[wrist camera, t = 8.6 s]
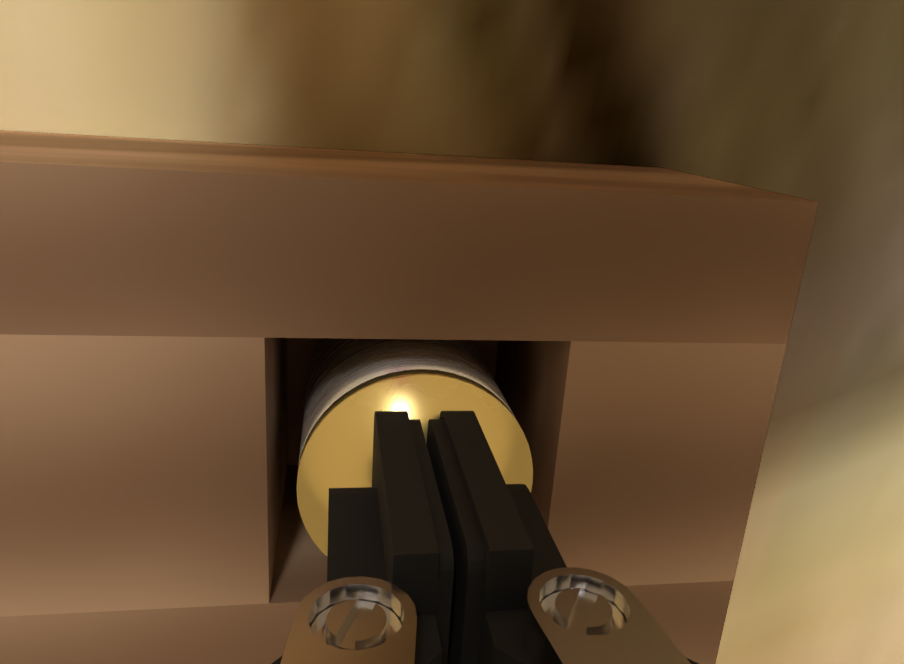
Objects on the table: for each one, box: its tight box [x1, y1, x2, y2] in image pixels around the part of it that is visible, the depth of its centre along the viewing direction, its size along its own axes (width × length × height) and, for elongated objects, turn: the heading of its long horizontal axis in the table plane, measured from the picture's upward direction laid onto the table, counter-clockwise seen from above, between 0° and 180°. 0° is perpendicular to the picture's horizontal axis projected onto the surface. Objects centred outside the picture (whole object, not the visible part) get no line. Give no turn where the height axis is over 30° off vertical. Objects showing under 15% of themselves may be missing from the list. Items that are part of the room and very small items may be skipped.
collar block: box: [0, 130, 819, 664], centre depth 14 cm, size 10×26×6 cm, turn 86°
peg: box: [297, 338, 533, 556], centre depth 14 cm, size 4×4×4 cm
